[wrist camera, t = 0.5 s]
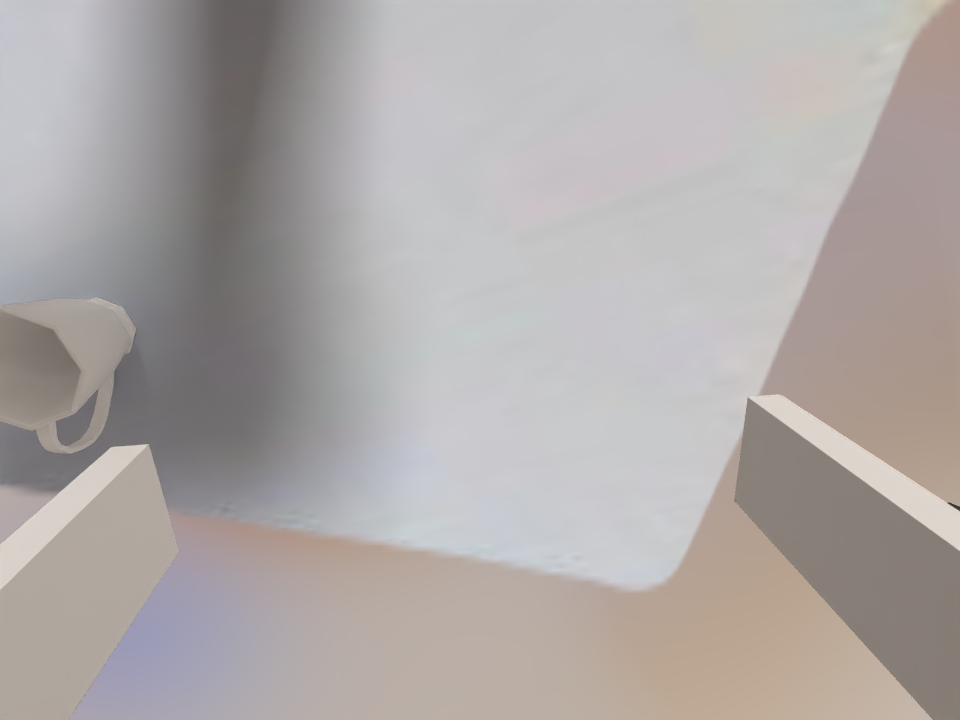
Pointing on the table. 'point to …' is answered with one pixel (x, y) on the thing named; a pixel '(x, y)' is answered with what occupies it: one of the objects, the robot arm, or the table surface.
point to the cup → (60, 364)
